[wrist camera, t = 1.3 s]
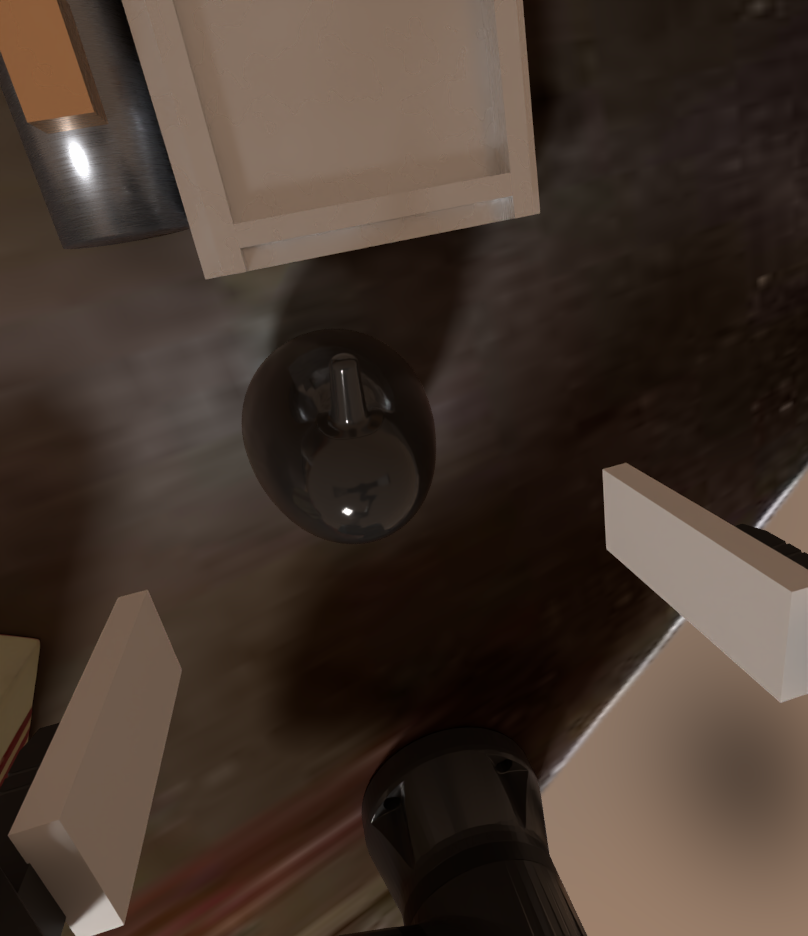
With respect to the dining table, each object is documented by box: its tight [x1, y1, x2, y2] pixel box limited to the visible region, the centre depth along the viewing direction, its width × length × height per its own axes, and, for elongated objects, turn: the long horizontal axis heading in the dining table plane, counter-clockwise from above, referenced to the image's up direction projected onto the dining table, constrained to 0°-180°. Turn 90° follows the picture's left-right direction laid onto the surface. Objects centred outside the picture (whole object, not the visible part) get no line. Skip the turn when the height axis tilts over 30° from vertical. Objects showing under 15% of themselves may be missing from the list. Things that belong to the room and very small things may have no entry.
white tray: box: [0, 0, 540, 279], centre depth 25 cm, size 17×23×8 cm
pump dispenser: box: [242, 329, 436, 544], centre depth 28 cm, size 10×10×15 cm
